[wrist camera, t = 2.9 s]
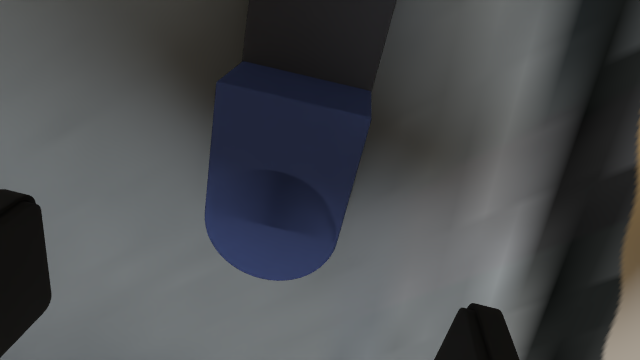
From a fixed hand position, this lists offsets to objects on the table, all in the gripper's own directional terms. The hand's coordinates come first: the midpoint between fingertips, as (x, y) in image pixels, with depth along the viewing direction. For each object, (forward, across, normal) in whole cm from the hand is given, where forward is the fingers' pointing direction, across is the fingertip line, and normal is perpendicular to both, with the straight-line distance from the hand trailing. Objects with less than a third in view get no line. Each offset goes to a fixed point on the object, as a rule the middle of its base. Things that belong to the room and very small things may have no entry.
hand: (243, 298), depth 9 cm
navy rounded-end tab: (+10, 0, -2) cm, 10 cm away
